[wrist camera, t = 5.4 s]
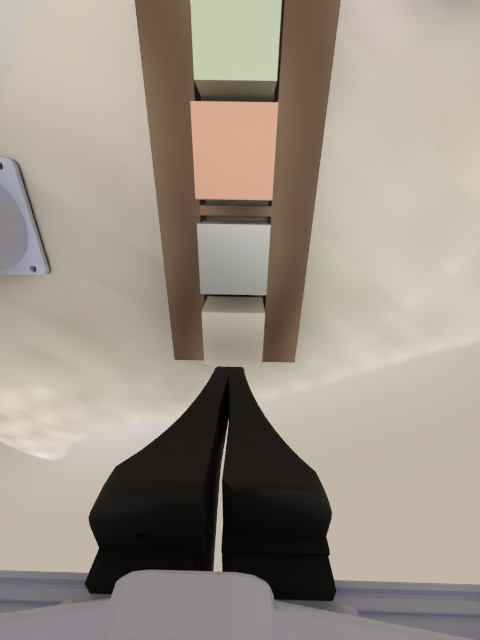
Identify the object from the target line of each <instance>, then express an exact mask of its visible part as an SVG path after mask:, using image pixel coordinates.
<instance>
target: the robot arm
mask: <svg viewBox="0 0 480 640" xmlns="http://www.w3.org/2000/svg"><path fill="white" fill-rule="evenodd" d="M0 163H2V165H3V169H1V167H0V275H45V274H47V273H49V267H48V264H47V260H46V257H45V254H44V251H43V247H42V244H41V241H40V237H39V234H38V231H37V228H36V224H35V221H34V218H33V215H32V211H31V208H30V205H29V201H28V198H27V195H26V192H25V188H24V185H23V182H22V179H21V175H20V172H19V169H18V166H17V164H16V162H15V161H14V160H12V159H11V158H6V157H0ZM34 267H36V269H37V271H36V270H35V269H34ZM228 419H229V427H228V436H227V445H226V454H225V462H224V470H223V478H222V493H223V534H222V566H223V567H222V568H223V572H213V566H214V550H215V535H216V522H217V508H218V493H219V479H220V469H221V461H222V455H223V448H224V443H225V437H226V431H227V425H228ZM331 516H332V511H331V507H330V504H329V501H328V498H327V495H326V493H325V490H324V488H323V486H322V484H321V482H320V480H319V477H318V475H317V474H316V472H315V471H314V470H313V469H312V468H311V467H309V466H308V465H307V464H306V463H305V462H304V461H303V460H302V459H301V458H299V456H298V455H297V454H296V453H295V452H294V451H293V450H292V449H291V448H290V447H289V446H288V445H287V444H286V443H285V441H284V440H283V439H282V438H281V437H280V436H279V434H278V433H277V432H276V431H275V430H274V428H273V427H272V425H271V424H270V423H269V421H268V420H267V418H266V417H265V416H264V414H263V412H262V411H261V409H260V407H259V406H258V404H257V402H256V400H255V398H254V396H253V394H252V392H251V390H250V388H249V385H248V382H247V380H246V377H245V373H244V369H243V368H242V367H217V368H215V370H214V372H213V374H212V376H211V378H210V379H209V381H208V383H207V384H206V386H205V387H204V388H203V390H202V391H201V393H200V394H199V395H198V397H197V398H196V399H195V401H194V402H193V403H192V404H191V406H190V407H189V408H188V409H187V410H186V411H185V412H184V413H183V414H182V416H181V417H180V418H179V419H178V420H177V421H176V422H175V423H173V424H172V425H171V426H170V427H169V428H168V429H167V430H166V431H165V432H164V433H162V434H161V435H160V436H159V437H158V438H156V439H155V440H154V441H152V442H151V443H150V444H149V445H147V446H146V447H145V448H144V449H142V450H141V451H139V452H138V453H137V454H135V455H133V456H132V457H130V458H129V459H127V460H125V461H124V462H122V463H121V464H119V465H117V466H116V467H115V469H114V470H113V472H112V473H111V475H110V476H109V478H108V479H107V481H106V483H105V484H104V486H103V488H102V490H101V492H100V494H99V496H98V498H97V500H96V502H95V504H94V506H93V508H92V510H91V512H90V515H89V524H90V527H91V529H92V532H93V534H94V536H95V539H96V541H97V544H98V546H99V550H98V553H97V555H96V557H95V560H94V562H93V564H92V567H91V569H90V572H89V573H71V572H40V571H6V570H0V640H480V585H474V584H473V585H472V584H441V583H408V582H372V581H340V580H334V578H333V575H332V570H331V566H330V562H329V558H328V556H329V554H330V552H329V547H328V542H327V538H326V535H327V532H328V528H329V525H330V521H331Z"/></svg>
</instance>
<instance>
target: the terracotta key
mask: <svg viewBox="0 0 480 640" xmlns="http://www.w3.org/2000/svg"><path fill="white" fill-rule="evenodd" d="M190 106H191V125H192V144H193V162H194V181H195V199H200V200H233V201H271V200H272V197H273V181H274V165H275V149H276V133H277V118H278V102H222V101H190Z"/></svg>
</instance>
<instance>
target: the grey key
mask: <svg viewBox="0 0 480 640" xmlns="http://www.w3.org/2000/svg"><path fill="white" fill-rule="evenodd" d="M270 229H271V225H270V224H269V223H268V222H262V221H202V222H200V223H197V238H198V256H199V275H200V294H226V295H266V293H267V277H268V261H269V245H270Z"/></svg>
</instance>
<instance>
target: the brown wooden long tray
mask: <svg viewBox="0 0 480 640" xmlns="http://www.w3.org/2000/svg"><path fill="white" fill-rule="evenodd" d="M340 1H341V0H282V6H281V22H280V39H279V56H278V73H277V83H276V87H275V102H278V118H277V133H276V149H275V165H274V181H273V197H272V200H271V201H269V206H225V205H205V200H200V199H195V181H194V162H193V144H192V125H191V106H190V101H201V96H200V93H199V91H198V88H197V86H196V84H195V81H194V70H193V48H192V27H191V6H190V0H135V6H136V15H137V24H138V33H139V42H140V51H141V60H142V69H143V78H144V87H145V96H146V105H147V114H148V123H149V132H150V141H151V150H152V159H153V168H154V177H155V186H156V195H157V204H158V213H159V222H160V231H161V240H162V249H163V258H164V267H165V276H166V285H167V294H168V303H169V312H170V321H171V330H172V339H173V348H174V357H175V360H204V350H203V332H202V313H201V312H202V310H203V307H204V305H205V302H206V300H207V297H208V296H209V294H200V275H199V256H198V238H197V223H200V222H202V221H206V216H205V215H209V216H266V217H268V223H269V224H270V225H271V229H270V245H269V261H268V277H267V293H266V295H263V305H264V310H265V325H264V341H263V357H262V362H295V354H296V346H297V339H298V331H299V323H300V315H301V307H302V299H303V292H304V284H305V276H306V268H307V260H308V252H309V244H310V237H311V229H312V221H313V213H314V205H315V197H316V189H317V182H318V174H319V166H320V158H321V150H322V142H323V134H324V127H325V119H326V111H327V103H328V95H329V87H330V80H331V72H332V64H333V56H334V48H335V40H336V32H337V25H338V17H339V9H340Z"/></svg>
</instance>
